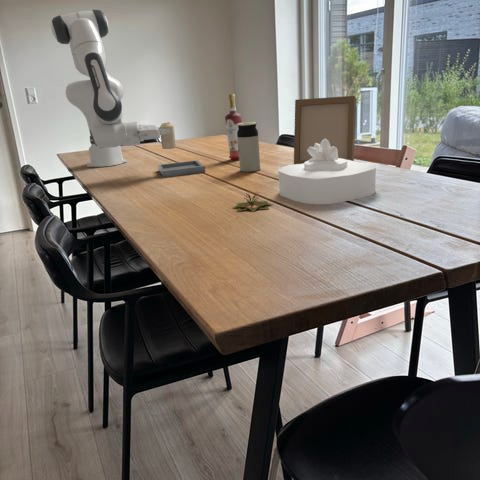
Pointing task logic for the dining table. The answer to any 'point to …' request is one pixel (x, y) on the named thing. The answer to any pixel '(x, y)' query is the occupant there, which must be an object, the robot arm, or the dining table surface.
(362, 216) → the dining table surface
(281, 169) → the tissue box
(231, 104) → the liquor
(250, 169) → the travel mug
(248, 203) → the olive green leafy cluster
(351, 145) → the photo frame
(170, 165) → the dish
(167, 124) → the candle
